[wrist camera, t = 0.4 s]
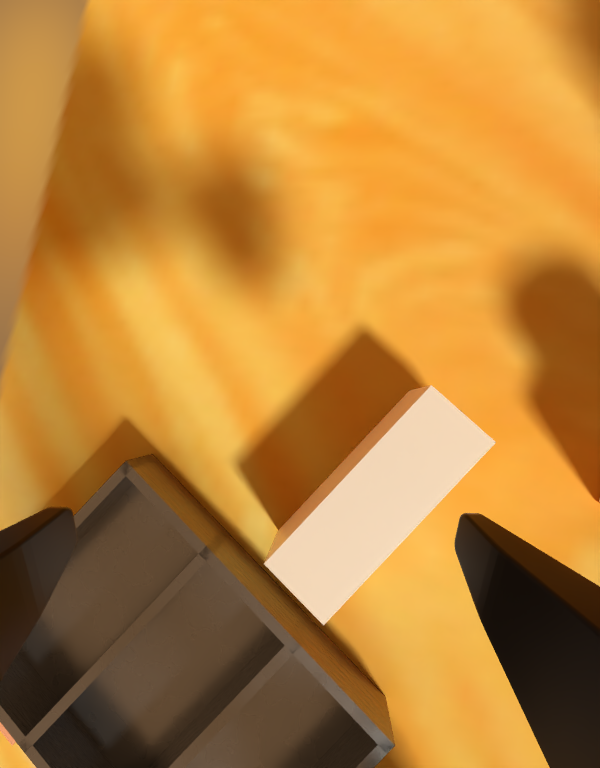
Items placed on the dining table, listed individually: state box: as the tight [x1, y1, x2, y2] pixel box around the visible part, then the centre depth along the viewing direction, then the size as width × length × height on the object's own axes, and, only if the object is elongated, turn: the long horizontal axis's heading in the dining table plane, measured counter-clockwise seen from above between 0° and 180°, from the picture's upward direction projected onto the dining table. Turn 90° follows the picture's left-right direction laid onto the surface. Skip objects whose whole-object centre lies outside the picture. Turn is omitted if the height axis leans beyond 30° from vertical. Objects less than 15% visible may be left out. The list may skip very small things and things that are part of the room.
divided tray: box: [0, 454, 395, 768], centre depth 20 cm, size 20×16×3 cm
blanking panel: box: [264, 385, 496, 625], centre depth 19 cm, size 4×12×5 cm, turn 137°
